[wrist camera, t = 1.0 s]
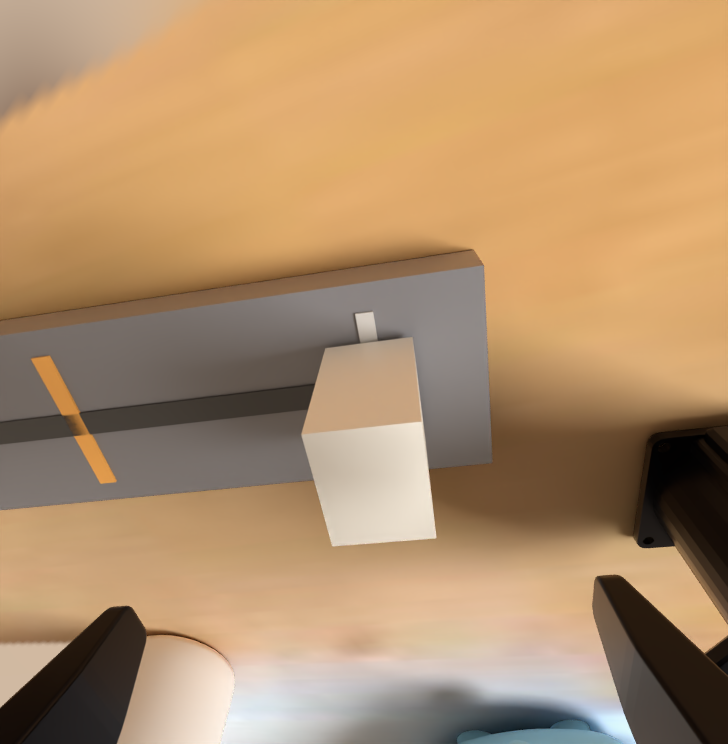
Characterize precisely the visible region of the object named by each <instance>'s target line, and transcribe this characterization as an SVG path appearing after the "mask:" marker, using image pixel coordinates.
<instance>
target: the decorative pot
mask: <svg viewBox="0 0 728 744" xmlns="http://www.w3.org/2000/svg"><path fill="white" fill-rule="evenodd" d="M457 742H458V744H623V743H622V742H620V741H619V740H618V739H616V738H614V737H612V736H610V735H607V734H604V733H599V732H594V731H590V727H589V725H588V724H587V723H585V722H583V721H579V720H563V721H560V722H557V723H555V724H553V725H552V726H551V728H550V729H527V730H516V731H508V732H502V733H497V734H490V733H488V732H485V731H480V730H471V731H466V732H464V733H462V734H460V735H459V736H458V737H457Z"/></svg>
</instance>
